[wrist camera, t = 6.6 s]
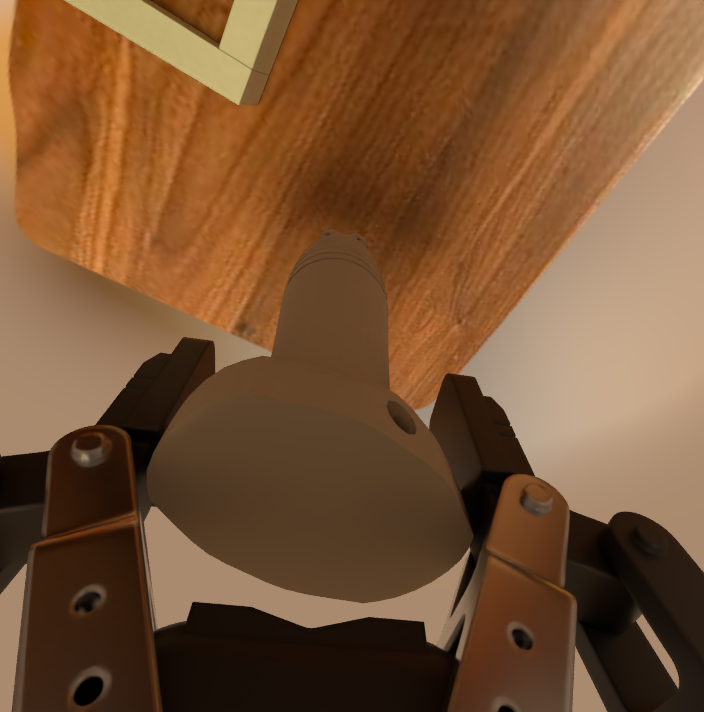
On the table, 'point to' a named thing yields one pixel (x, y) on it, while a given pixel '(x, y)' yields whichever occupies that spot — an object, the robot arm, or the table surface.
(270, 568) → the handle
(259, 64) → the frame
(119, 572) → the robot arm
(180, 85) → the table surface
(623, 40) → the table surface
